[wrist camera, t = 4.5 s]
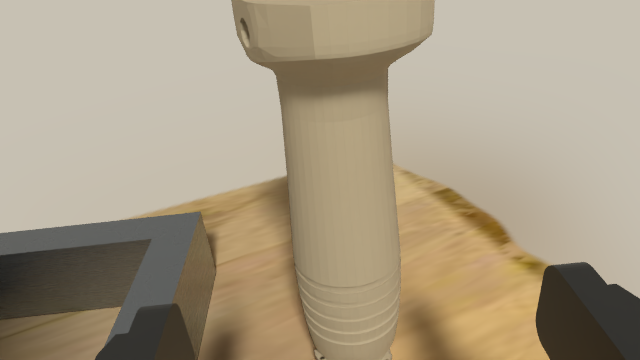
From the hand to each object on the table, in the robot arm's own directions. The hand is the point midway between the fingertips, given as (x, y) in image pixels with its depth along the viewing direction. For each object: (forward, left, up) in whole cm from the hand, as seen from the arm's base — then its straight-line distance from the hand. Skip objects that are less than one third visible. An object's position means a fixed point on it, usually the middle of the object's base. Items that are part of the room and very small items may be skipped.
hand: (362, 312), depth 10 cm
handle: (0, +6, -9) cm, 11 cm away
